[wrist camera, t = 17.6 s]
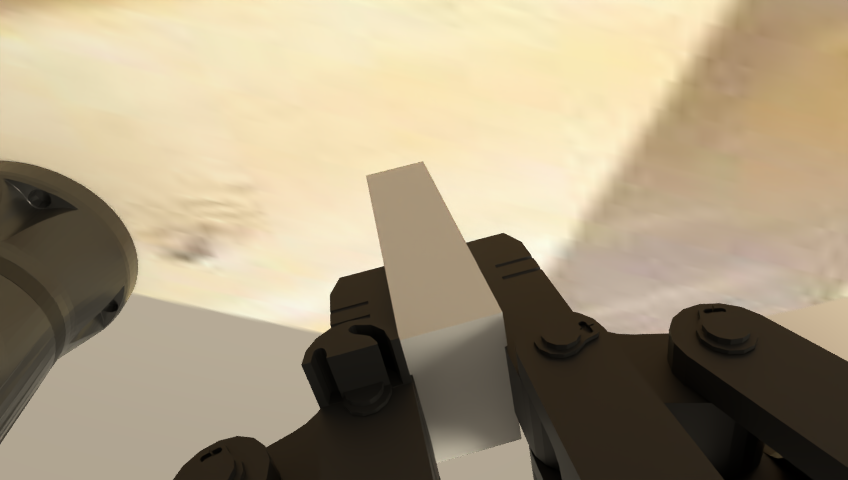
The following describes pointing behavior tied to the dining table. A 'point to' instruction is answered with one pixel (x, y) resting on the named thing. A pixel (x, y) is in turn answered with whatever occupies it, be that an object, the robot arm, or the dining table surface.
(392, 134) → the dining table surface
